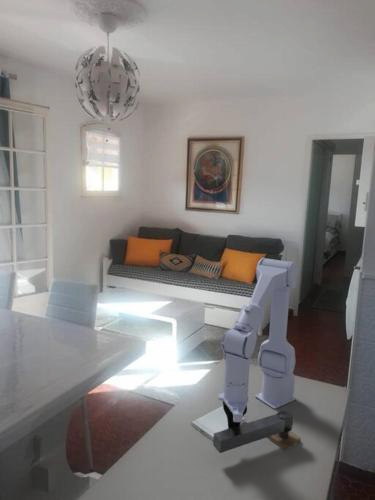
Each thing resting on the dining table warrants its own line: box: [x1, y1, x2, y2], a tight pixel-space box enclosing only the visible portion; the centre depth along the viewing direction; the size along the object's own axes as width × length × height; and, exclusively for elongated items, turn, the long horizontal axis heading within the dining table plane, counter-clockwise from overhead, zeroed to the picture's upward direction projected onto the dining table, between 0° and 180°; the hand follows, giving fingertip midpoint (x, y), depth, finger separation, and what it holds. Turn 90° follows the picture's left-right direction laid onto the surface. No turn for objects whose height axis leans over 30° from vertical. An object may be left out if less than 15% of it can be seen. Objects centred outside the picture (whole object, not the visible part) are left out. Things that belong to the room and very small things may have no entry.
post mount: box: [266, 430, 302, 451], centre depth 97 cm, size 6×6×3 cm
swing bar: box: [212, 410, 294, 454], centre depth 92 cm, size 22×4×3 cm, turn 117°
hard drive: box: [190, 405, 246, 441], centre depth 103 cm, size 2×8×12 cm
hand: (233, 431), depth 93 cm, fingers closed
